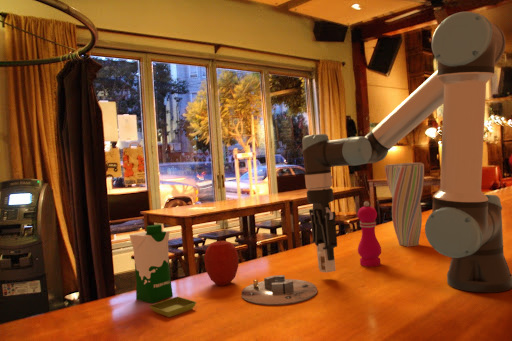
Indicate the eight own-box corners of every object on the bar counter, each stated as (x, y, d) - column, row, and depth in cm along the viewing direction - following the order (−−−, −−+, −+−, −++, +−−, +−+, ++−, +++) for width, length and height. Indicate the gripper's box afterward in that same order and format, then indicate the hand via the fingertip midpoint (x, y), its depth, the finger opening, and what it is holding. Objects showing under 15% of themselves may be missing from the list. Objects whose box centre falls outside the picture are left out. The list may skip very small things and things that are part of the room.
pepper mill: (383, 266, 139) (379, 202, 138) (359, 267, 140) (354, 203, 140) (381, 261, 146) (377, 199, 145) (358, 261, 147) (354, 200, 147)
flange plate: (329, 297, 113) (328, 283, 113) (252, 310, 108) (251, 295, 108) (300, 278, 133) (300, 266, 133) (234, 288, 127) (233, 275, 127)
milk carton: (151, 305, 117) (145, 228, 117) (131, 300, 123) (125, 227, 122) (177, 295, 124) (172, 223, 123) (156, 291, 130) (151, 222, 129)
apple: (246, 284, 131) (243, 236, 130) (214, 291, 126) (211, 241, 125) (231, 277, 140) (227, 232, 139) (200, 283, 135) (197, 237, 134)
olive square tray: (148, 313, 112) (148, 305, 112) (178, 303, 118) (177, 296, 118) (167, 321, 106) (167, 312, 106) (198, 310, 112) (197, 302, 112)
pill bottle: (323, 273, 127) (320, 246, 127) (317, 270, 131) (314, 243, 131) (337, 271, 128) (334, 244, 128) (330, 268, 132) (328, 241, 132)
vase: (436, 245, 163) (431, 162, 162) (406, 250, 158) (401, 165, 157) (410, 239, 176) (406, 162, 175) (382, 244, 171) (377, 165, 170)
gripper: (345, 188, 122) (353, 273, 122) (319, 186, 139) (326, 262, 139) (319, 190, 120) (327, 278, 120) (296, 189, 137) (303, 265, 137)
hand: (326, 269), depth 130 cm, fingers closed on pill bottle, 4 cm apart
